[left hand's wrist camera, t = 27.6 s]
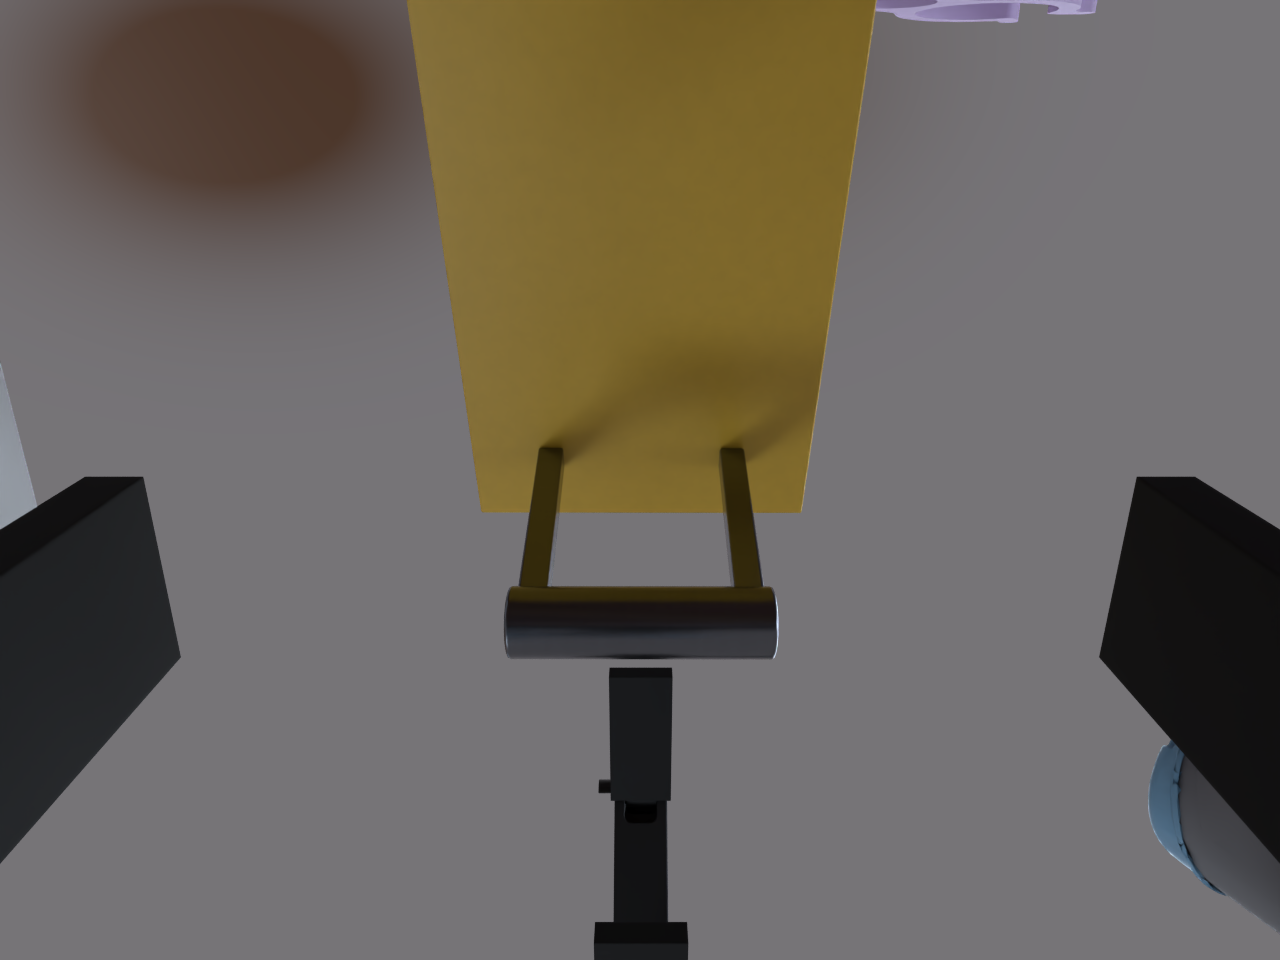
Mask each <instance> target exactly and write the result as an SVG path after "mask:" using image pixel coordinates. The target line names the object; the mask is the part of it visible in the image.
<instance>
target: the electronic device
mask: <svg viewBox="0 0 1280 960" xmlns="http://www.w3.org/2000/svg"><path fill="white" fill-rule="evenodd" d="M36 507H37V504H36V500H35V496H34V492H33V488H32V484H31V480H30V476H29V472H28V468H27V464H26V460H25V457H24V453H23V449H22V445H21V441H20V437H19V433H18V429H17V426H16V422H15V418H14V414H13V410H12V406H11V402H10V398H9V394H8V390H7V386H6V382H5V379H4V375H3V371H2V367H1V363H0V529H2V528H3V527H5V526H7V525H8V524H10V523H11V522H13V521H15V520H16V519H18V518H20V517H21V516H23V515H24V514H26V513H28V512H29V511H31V510H32V509H34V508H36Z"/></svg>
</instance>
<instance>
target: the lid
mask: <svg viewBox="0 0 1280 960" xmlns="http://www.w3.org/2000/svg"><path fill="white" fill-rule="evenodd" d="M876 3H877V0H407V5H408V12H409V19H410V25H411V32H412V39H413V46H414V53H415V60H416V67H417V73H418V80H419V87H420V94H421V101H422V108H423V114H424V121H425V128H426V135H427V142H428V149H429V156H430V162H431V169H432V176H433V183H434V190H435V197H436V204H437V210H438V217H439V224H440V231H441V237H442V244H443V251H444V258H445V265H446V272H447V279H448V286H449V292H450V299H451V306H452V313H453V320H454V327H455V334H456V340H457V347H458V354H459V361H460V368H461V375H462V382H463V388H464V395H465V402H466V409H467V416H468V422H469V430H470V436H471V443H472V450H473V457H474V464H475V470H476V477H477V484H478V491H479V498H480V505H481V511H482V512H529V518H528V525H527V532H526V538H525V545H524V552H523V559H522V565H521V572H520V579H519V586H512V587H510V588H509V590H508V593H507V597H506V603H505V614H504V641H505V650H506V653H507V656H508V658H510V659H773V658H774V657H775V654H776V651H777V644H778V610H777V601H776V596H775V592H774V590H773V588H772V587H767V586H765V587H764V584H763V577H762V570H761V564H760V556H759V550H758V543H757V536H756V529H755V522H754V515H753V513H800V512H801V511H802V505H803V498H804V491H805V484H806V477H807V470H808V464H809V457H810V450H811V444H812V437H813V430H814V423H815V416H816V410H817V403H818V396H819V389H820V383H821V376H822V369H823V362H824V356H825V349H826V342H827V335H828V328H829V322H830V315H831V308H832V301H833V295H834V288H835V281H836V274H837V268H838V261H839V254H840V247H841V240H842V233H843V227H844V220H845V213H846V207H847V200H848V193H849V186H850V179H851V173H852V166H853V159H854V152H855V146H856V139H857V132H858V125H859V118H860V112H861V105H862V98H863V91H864V85H865V78H866V71H867V64H868V58H869V51H870V44H871V37H872V31H873V24H874V17H875V10H876ZM559 512H608V513H611V512H613V513H623V512H624V513H625V512H626V513H723V514H724V524H725V533H726V543H727V552H728V562H729V571H730V581H731V586H552V576H553V567H554V558H555V549H556V539H557V530H558V521H559Z"/></svg>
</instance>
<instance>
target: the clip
mask: <svg viewBox="0 0 1280 960" xmlns="http://www.w3.org/2000/svg"><path fill="white" fill-rule="evenodd" d="M1020 3H1036V4H1047V5H1049V7H1048V14H1091V13H1095V11H1096V5H1097V0H877V3H876V10H875V11H883V12H891V13H894V14H895V15H896V16H897V17H900V18H904V19H910V20H920V21H939V22H976V21H999V22H1000V23H1012V22H1018V16H1019V9H1020Z"/></svg>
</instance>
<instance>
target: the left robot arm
mask: <svg viewBox="0 0 1280 960" xmlns="http://www.w3.org/2000/svg"><path fill="white" fill-rule="evenodd" d="M180 657H181V656H180V651H179V646H178V641H177V637H176V632H175V627H174V622H173V617H172V613H171V608H170V603H169V598H168V594H167V589H166V584H165V579H164V574H163V570H162V565H161V560H160V555H159V550H158V546H157V541H156V536H155V531H154V526H153V522H152V517H151V512H150V507H149V503H148V498H147V493H146V488H145V484H144V479H143V477H84V478H82V479H81V480H79V481H78V482H76V483H74V484H73V485H71V486H70V487H68V488H66V489H65V490H63V491H62V492H60V493H58V494H57V495H55V496H53V497H52V498H50V499H49V500H47V501H45V502H44V503H42V504H40V505H39V506H37V507H36V508H34V509H32V510H31V511H29V512H28V513H26V514H24V515H23V516H21V517H20V518H18V519H16V520H15V521H13V522H11V523H10V524H8V525H7V526H5V527H3V528H2V529H0V863H1V862H2V861H3V860H4V859H5V858H6V856H7V855H8V854H9V853H10V852H11V851H12V850H13V848H14V847H15V846H16V845H17V844H18V843H19V842H20V840H21V839H22V838H23V837H24V836H25V835H26V833H27V832H28V831H29V830H30V829H31V828H32V827H33V826H34V824H35V823H36V822H37V821H38V820H39V819H40V818H41V816H42V815H43V814H44V813H45V812H46V811H47V810H48V808H49V807H50V806H51V805H52V804H53V803H54V802H55V800H56V799H57V798H58V797H59V796H60V795H61V794H62V792H63V791H64V790H65V789H66V788H67V787H68V786H69V784H70V783H71V782H72V781H73V780H74V779H75V777H76V776H77V775H78V774H79V773H80V772H81V771H82V770H83V768H84V767H85V766H86V765H87V764H88V763H89V762H90V760H91V759H92V758H93V757H94V756H95V755H96V754H97V752H98V751H99V750H100V749H101V748H102V747H103V746H104V744H105V743H106V742H107V741H108V740H109V739H110V738H111V736H112V735H113V734H114V733H115V732H116V731H117V729H118V728H119V727H120V726H121V725H122V724H123V723H124V722H125V720H126V719H127V718H128V717H129V716H130V715H131V714H132V712H133V711H134V710H135V709H136V708H137V707H138V706H139V704H140V703H141V702H142V701H143V700H144V699H145V698H146V696H147V695H148V694H149V693H150V692H151V691H152V690H153V688H154V687H155V686H156V685H157V684H158V683H159V682H160V680H161V679H162V678H163V677H164V676H165V675H166V674H167V672H168V671H169V670H170V669H171V668H172V667H173V666H174V664H175V663H176V662H177V661H178V660H179V659H180ZM1099 657H1100V659H1101V660H1102V661H1103V662H1104V663H1105V664H1106V666H1107V667H1108V668H1109V669H1110V670H1111V671H1112V672H1113V674H1114V675H1115V676H1116V677H1117V678H1118V679H1119V680H1120V682H1121V683H1122V684H1123V685H1124V686H1125V687H1126V688H1127V689H1128V691H1129V692H1130V693H1131V694H1132V695H1133V696H1134V698H1135V699H1136V700H1137V701H1138V702H1139V703H1140V704H1141V706H1142V707H1143V708H1144V709H1145V710H1146V711H1147V712H1148V714H1149V715H1150V716H1151V717H1152V718H1153V719H1154V720H1155V722H1156V723H1157V724H1158V725H1159V726H1160V727H1161V728H1162V730H1163V731H1164V732H1165V733H1166V734H1167V735H1168V736H1169V738H1170V739H1171V740H1172V741H1173V742H1174V743H1175V744H1176V746H1177V747H1178V748H1179V749H1180V750H1181V751H1182V752H1183V754H1184V755H1185V756H1186V757H1187V758H1188V759H1189V760H1190V762H1191V763H1192V764H1193V765H1194V766H1195V767H1196V768H1197V770H1198V771H1199V772H1200V773H1201V774H1202V775H1203V776H1204V778H1205V779H1206V780H1207V781H1208V782H1209V783H1210V784H1211V786H1212V787H1213V788H1214V789H1215V790H1216V791H1217V792H1218V794H1219V795H1220V796H1221V797H1222V798H1223V799H1224V800H1225V802H1226V803H1227V804H1228V805H1229V806H1230V807H1231V808H1232V810H1233V811H1234V812H1235V813H1236V814H1237V815H1238V816H1239V818H1240V819H1241V820H1242V821H1243V822H1244V823H1245V824H1246V826H1247V827H1248V828H1249V829H1250V830H1251V831H1252V832H1253V834H1254V835H1255V836H1256V837H1257V838H1258V839H1259V840H1260V842H1261V843H1262V844H1263V845H1264V846H1265V847H1266V848H1267V850H1268V851H1269V852H1270V853H1271V854H1272V855H1273V856H1274V858H1275V859H1276V860H1277V861H1278V862H1279V863H1280V529H1278V528H1277V527H1275V526H1273V525H1272V524H1270V523H1268V522H1267V521H1265V520H1264V519H1262V518H1260V517H1259V516H1257V515H1256V514H1254V513H1252V512H1251V511H1249V510H1248V509H1246V508H1244V507H1243V506H1241V505H1239V504H1238V503H1236V502H1235V501H1233V500H1231V499H1230V498H1228V497H1227V496H1225V495H1223V494H1222V493H1220V492H1219V491H1217V490H1215V489H1214V488H1212V487H1210V486H1209V485H1207V484H1206V483H1204V482H1202V481H1201V480H1199V479H1198V478H1196V477H1137V479H1136V483H1135V488H1134V493H1133V498H1132V503H1131V507H1130V512H1129V517H1128V522H1127V527H1126V531H1125V536H1124V541H1123V546H1122V551H1121V555H1120V560H1119V565H1118V570H1117V574H1116V579H1115V584H1114V589H1113V593H1112V598H1111V603H1110V608H1109V613H1108V618H1107V623H1106V627H1105V632H1104V637H1103V642H1102V646H1101V651H1100V656H1099Z"/></svg>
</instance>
